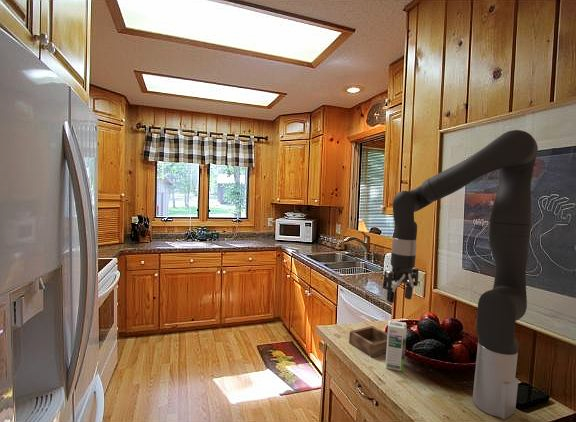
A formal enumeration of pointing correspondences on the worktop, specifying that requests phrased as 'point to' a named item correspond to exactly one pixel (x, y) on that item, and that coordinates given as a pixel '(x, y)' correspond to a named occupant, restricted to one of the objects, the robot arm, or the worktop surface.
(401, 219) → the robot arm
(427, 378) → the worktop surface
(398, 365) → the syrup box
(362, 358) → the worktop surface
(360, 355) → the worktop surface
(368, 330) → the brown square open box
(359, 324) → the worktop surface
